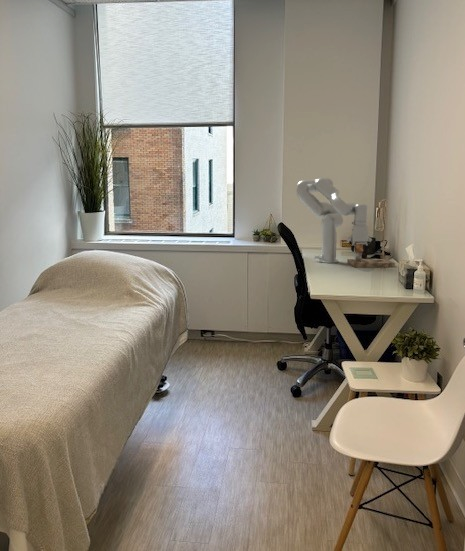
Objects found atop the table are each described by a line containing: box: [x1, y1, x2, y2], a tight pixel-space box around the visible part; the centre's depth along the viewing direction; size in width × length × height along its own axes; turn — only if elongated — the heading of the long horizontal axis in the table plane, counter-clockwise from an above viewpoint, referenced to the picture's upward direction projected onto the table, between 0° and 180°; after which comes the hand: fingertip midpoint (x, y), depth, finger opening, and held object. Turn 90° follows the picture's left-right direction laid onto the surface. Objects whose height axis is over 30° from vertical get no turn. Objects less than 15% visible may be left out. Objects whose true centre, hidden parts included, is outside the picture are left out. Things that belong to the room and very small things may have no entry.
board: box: [346, 258, 396, 268], centre depth 344 cm, size 26×16×3 cm, turn 93°
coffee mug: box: [355, 242, 375, 259], centre depth 371 cm, size 12×9×10 cm
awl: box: [354, 243, 363, 262], centre depth 342 cm, size 5×5×11 cm
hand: (358, 251), depth 342 cm, fingers open, 7 cm apart
